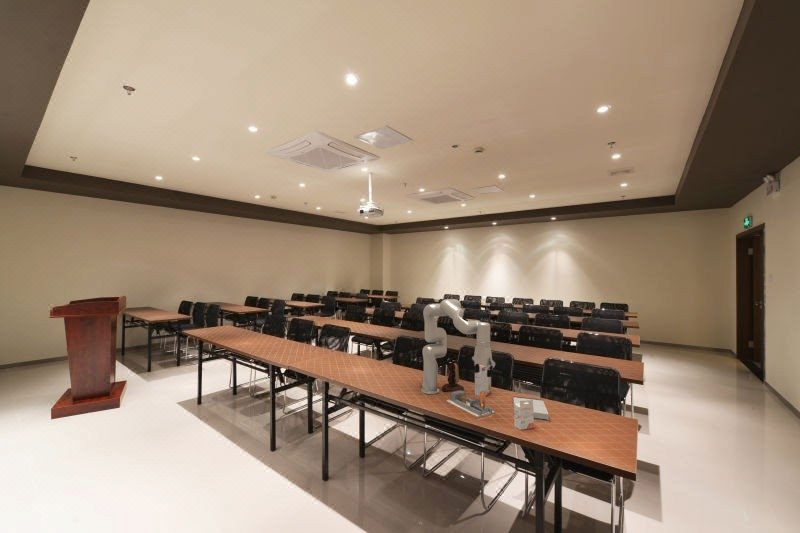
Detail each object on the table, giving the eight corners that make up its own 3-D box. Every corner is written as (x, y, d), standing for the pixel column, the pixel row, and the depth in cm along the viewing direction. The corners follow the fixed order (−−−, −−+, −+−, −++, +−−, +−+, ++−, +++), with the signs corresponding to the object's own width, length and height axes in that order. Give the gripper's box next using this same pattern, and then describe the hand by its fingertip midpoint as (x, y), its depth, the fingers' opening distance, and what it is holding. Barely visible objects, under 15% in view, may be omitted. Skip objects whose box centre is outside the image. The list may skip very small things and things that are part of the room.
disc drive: (543, 407, 206) (543, 399, 206) (549, 422, 185) (549, 413, 185) (512, 404, 211) (512, 396, 211) (515, 418, 189) (515, 409, 189)
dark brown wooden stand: (459, 396, 222) (459, 365, 223) (438, 391, 230) (439, 362, 231) (467, 390, 235) (467, 361, 236) (447, 386, 243) (447, 357, 243)
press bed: (445, 403, 209) (446, 392, 209) (463, 399, 216) (463, 389, 216) (476, 419, 186) (476, 407, 186) (494, 414, 193) (495, 403, 193)
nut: (458, 402, 207) (458, 395, 207) (463, 401, 209) (463, 394, 209) (462, 404, 203) (463, 397, 203) (468, 403, 205) (468, 396, 205)
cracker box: (482, 391, 232) (483, 360, 233) (491, 393, 229) (491, 362, 229) (473, 396, 221) (474, 364, 222) (482, 399, 218) (482, 366, 218)
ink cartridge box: (527, 424, 181) (527, 396, 181) (533, 428, 176) (534, 399, 177) (513, 426, 178) (514, 397, 179) (519, 430, 174) (519, 401, 174)
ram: (469, 408, 196) (470, 389, 197) (478, 406, 199) (478, 388, 200) (480, 413, 189) (480, 394, 189) (488, 411, 192) (489, 392, 192)
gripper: (468, 342, 199) (467, 371, 198) (489, 347, 184) (489, 379, 183) (477, 341, 203) (477, 370, 202) (499, 346, 188) (499, 377, 187)
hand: (483, 374), depth 193 cm, fingers open, 9 cm apart
